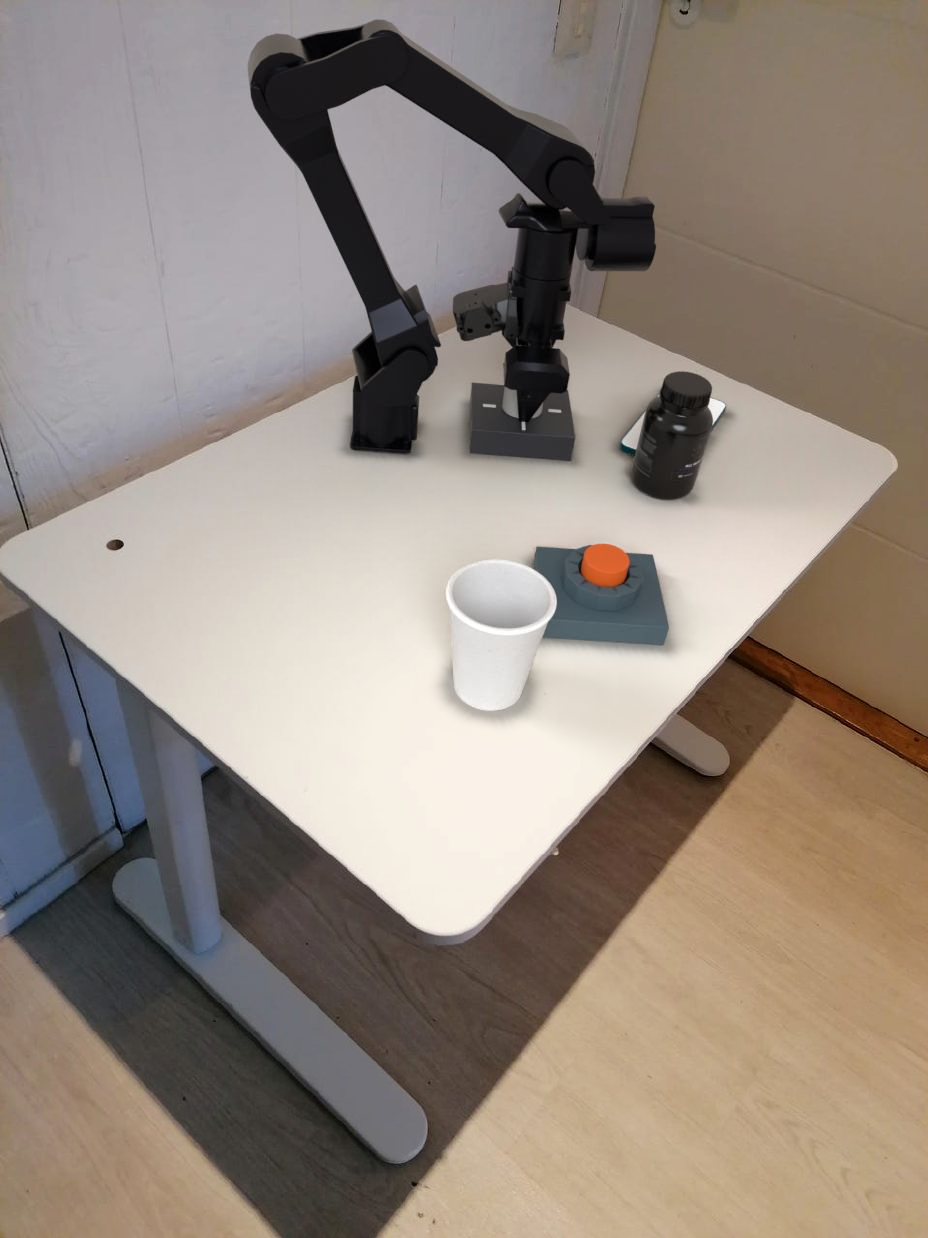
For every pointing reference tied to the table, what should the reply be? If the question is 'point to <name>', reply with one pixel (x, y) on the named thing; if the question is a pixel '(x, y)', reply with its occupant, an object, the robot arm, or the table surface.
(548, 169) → the robot arm
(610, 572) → the button
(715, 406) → the smartphone
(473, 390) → the timer panel
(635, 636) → the button housing
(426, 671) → the table surface
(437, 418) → the table surface
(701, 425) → the supplement bottle
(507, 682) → the dixie cup
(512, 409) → the timer knob
